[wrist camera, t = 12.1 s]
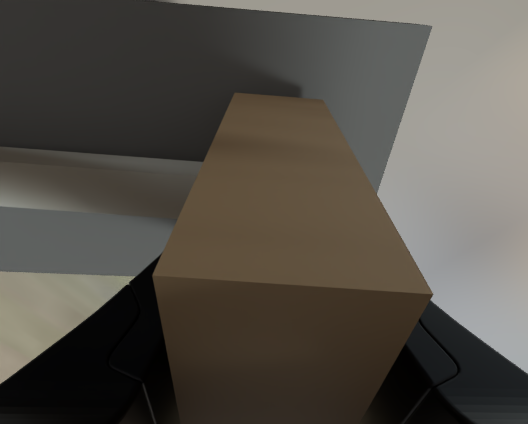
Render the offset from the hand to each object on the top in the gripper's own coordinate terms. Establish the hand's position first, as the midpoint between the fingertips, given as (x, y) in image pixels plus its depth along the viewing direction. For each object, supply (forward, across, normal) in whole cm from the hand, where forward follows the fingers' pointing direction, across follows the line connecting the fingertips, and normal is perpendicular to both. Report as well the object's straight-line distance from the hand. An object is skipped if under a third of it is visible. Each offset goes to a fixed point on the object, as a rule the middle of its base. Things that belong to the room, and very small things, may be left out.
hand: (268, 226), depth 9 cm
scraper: (+2, +5, 0) cm, 6 cm away
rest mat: (+4, +5, 0) cm, 6 cm away
